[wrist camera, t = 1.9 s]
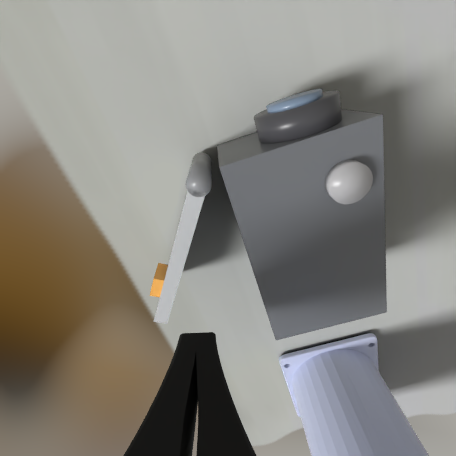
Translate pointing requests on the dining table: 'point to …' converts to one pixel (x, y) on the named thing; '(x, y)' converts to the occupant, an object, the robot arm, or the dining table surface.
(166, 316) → the side door
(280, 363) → the robot arm
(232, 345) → the dining table surface
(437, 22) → the dining table surface
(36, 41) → the dining table surface
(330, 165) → the camera body
